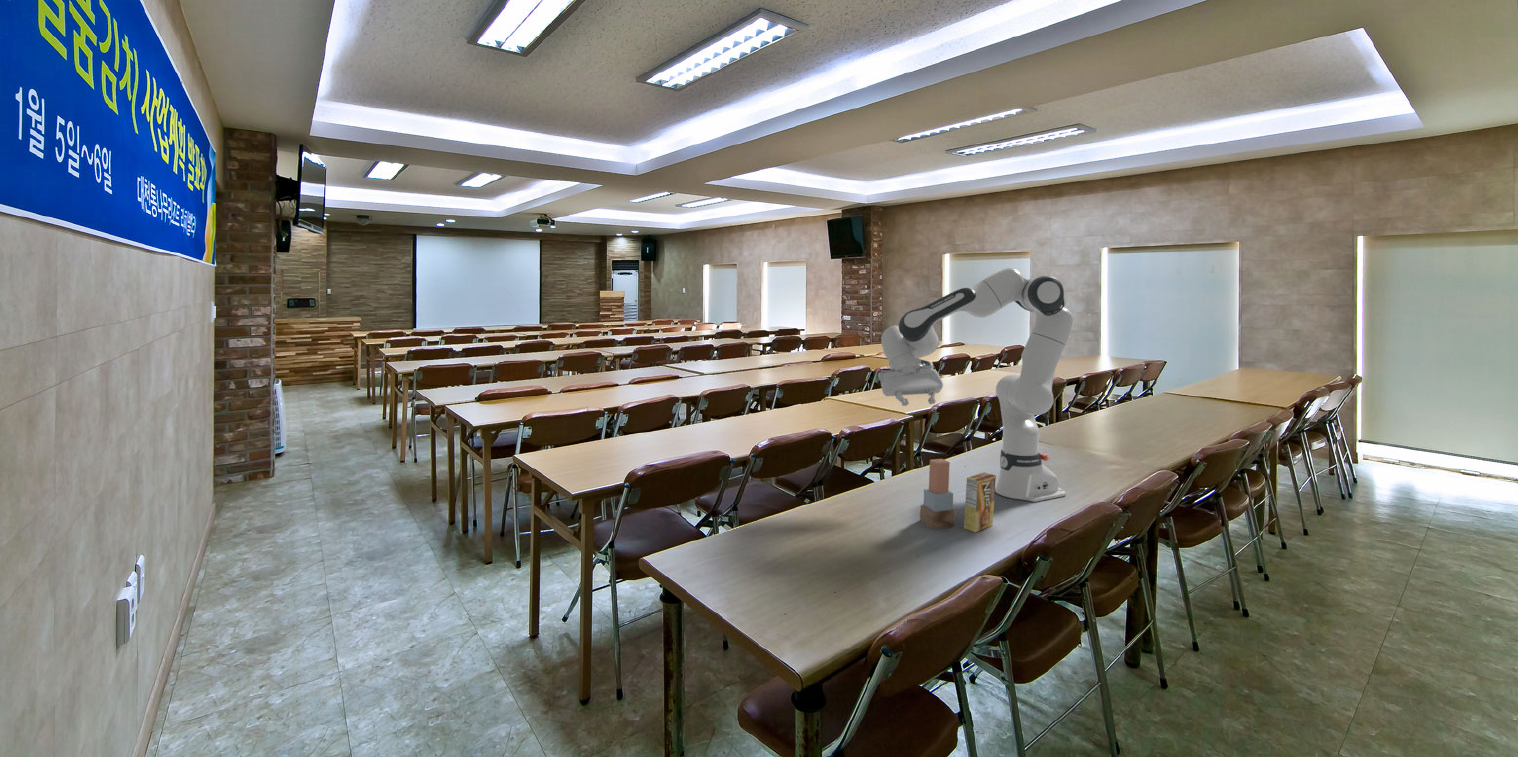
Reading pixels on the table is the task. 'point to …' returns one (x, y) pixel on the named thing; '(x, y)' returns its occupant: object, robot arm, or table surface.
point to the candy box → (979, 501)
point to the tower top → (938, 501)
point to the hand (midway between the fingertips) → (919, 403)
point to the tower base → (937, 518)
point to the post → (939, 476)
